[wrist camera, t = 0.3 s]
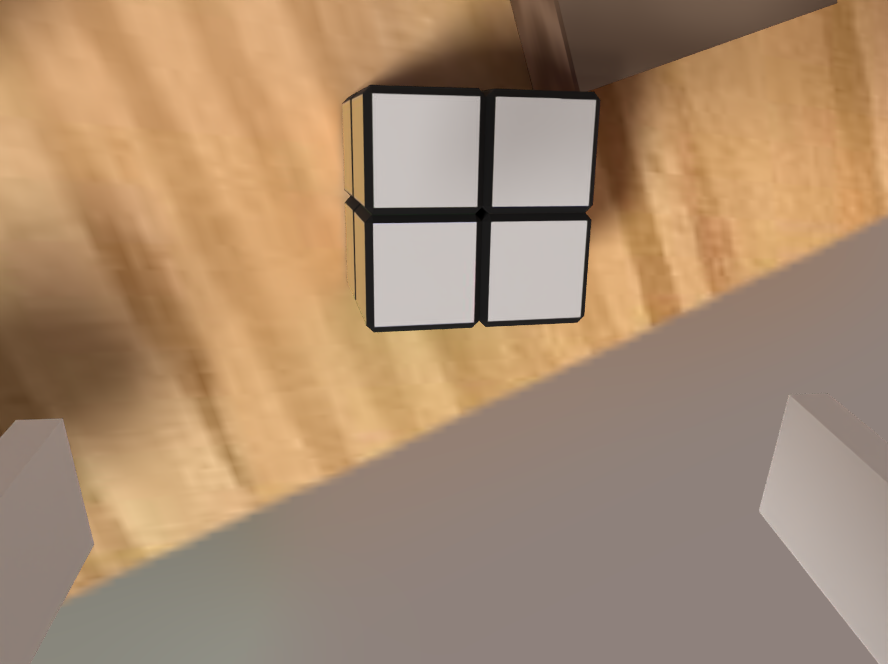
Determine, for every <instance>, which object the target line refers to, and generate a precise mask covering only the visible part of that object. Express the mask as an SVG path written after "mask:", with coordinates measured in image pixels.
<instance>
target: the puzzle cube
mask: <svg viewBox="0 0 888 664" xmlns="http://www.w3.org/2000/svg"><path fill="white" fill-rule="evenodd" d="M599 112H600V99H599V98H598V96H597V95H596V94H595V93H594V92H583V91H550V90H517V89H491V90H486V91H481V90H480V89H479V88H451V87H418V86H385V85H370V86H368V87H366V88H364V89H362V90H361V91H359V92H356V93H355V94H353V95H351V96H350V97H348V98H347V99H346V100H345V101H344V102H343V103H342V119H343V154H344V190H345V191H346V192H347V193H348V194H349V195H350V197H349V198H348V200H347V201H346V202H345V226H346V262H347V283H348V285H349V287H350V290H351V292H352V294H353V296H354V298H355V300H356V302H357V305H358V307H359V309H360V312H361V314H362V317H363V319H364V321H365V324H366V326H367V327H369V328H370V329H371V330H372V331H373V332H391V331H412V330H433V329H454V328H472V327H473V326H474V325H475V324H476V323H477V322H478V321H480V322H481V323H482V324H483V325H484V326H485V327H494V326H515V325H536V324H557V323H577V322H578V321H579V320H580V319H581V318H582V317H583V316H584V312H585V299H586V285H587V271H588V257H589V243H590V230H591V219H590V218H589V217H588V215H587V214H586V213H585V212H586V211H587V210H588V209H589V208H590V207H591V206H592V205H593V195H594V181H595V167H596V153H597V140H598V126H599Z"/></svg>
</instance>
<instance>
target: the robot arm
mask: <svg viewBox="0 0 888 664" xmlns="http://www.w3.org/2000/svg"><path fill="white" fill-rule="evenodd" d="M759 512H760V513H761V515H762V516H763V517H764V518H765V520H766V521H767V522H768V523H769V525H770V526H771V527H772V528H773V530H774V531H775V532H776V534H777V535H778V536H779V537H780V539H781V540H782V541H783V543H784V544H785V545H786V546H787V548H788V549H789V550H790V551H791V553H792V554H793V555H794V557H795V558H796V559H797V560H798V562H799V563H800V564H801V565H802V567H803V568H804V569H805V571H806V572H807V573H808V574H809V576H810V577H811V578H812V579H813V581H814V582H815V583H816V585H817V586H818V587H819V588H820V590H821V591H822V592H823V593H824V595H825V596H826V597H827V599H828V600H829V601H830V602H831V604H832V605H833V606H834V608H835V609H836V610H837V611H838V613H839V614H840V615H841V616H842V618H843V619H844V620H845V621H846V623H847V624H848V625H849V626H850V628H851V629H852V630H853V632H854V633H855V634H856V635H857V637H858V638H859V639H860V640H861V642H862V643H863V644H864V646H865V647H866V648H867V650H868V651H869V652H870V653H871V655H872V656H873V657H874V658H875V660H876V661H877V662H878V663H879V664H888V442H886V441H885V440H884V439H883V438H881V437H880V436H879V435H878V434H877V433H875V432H874V431H873V430H872V429H871V428H869V427H868V426H867V425H865V424H864V423H863V422H862V421H861V420H859V419H858V418H857V417H856V416H855V415H853V414H852V413H851V412H849V410H847V409H846V408H845V407H844V406H842V405H841V404H840V403H839V402H838V401H836V400H835V399H834V398H833V397H831V396H830V395H829V394H828V393H814V394H789V397H788V400H787V404H786V409H785V412H784V416H783V420H782V424H781V428H780V431H779V435H778V439H777V444H776V447H775V451H774V455H773V459H772V463H771V466H770V471H769V475H768V478H767V482H766V486H765V490H764V494H763V498H762V501H761V505H760V509H759ZM93 545H94V542H93V538H92V534H91V530H90V526H89V522H88V518H87V514H86V510H85V506H84V502H83V498H82V494H81V490H80V486H79V481H78V477H77V473H76V469H75V465H74V461H73V457H72V453H71V449H70V445H69V441H68V437H67V433H66V429H65V425H64V421H63V418H61V419H31V420H15V422H14V423H13V424H12V425H11V426H10V427H9V428H8V429H7V430H6V432H5V433H4V434H3V435H2V436H1V437H0V664H30V663H31V661H32V659H33V657H34V656H35V654H36V652H37V650H38V648H39V646H40V644H41V643H42V640H43V639H44V637H45V635H46V633H47V631H48V629H49V627H50V626H51V624H52V622H53V620H54V618H55V616H56V614H57V613H58V611H59V609H60V607H61V605H62V603H63V601H64V600H65V598H66V596H67V594H68V592H69V590H70V588H71V586H72V585H73V583H74V581H75V579H76V577H77V575H78V573H79V572H80V570H81V568H82V566H83V564H84V562H85V560H86V558H87V557H88V555H89V553H90V551H91V549H92V547H93Z"/></svg>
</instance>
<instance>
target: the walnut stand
mask: <svg viewBox="0 0 888 664" xmlns="http://www.w3.org/2000/svg"><path fill="white" fill-rule="evenodd" d="M510 2H511V6H512V9H513V13H514V17H515V21H516V25H517V29H518V32H519V36H520V40H521V44H522V48H523V52H524V56H525V59H526V63H527V67H528V71H529V75H530V79H531V83H532V86H533V90H550V91H583V92H587V91H590V90H593V89H596V88H599V87H602V86H604V85H607V84H610V83H613V82H616V81H618V80H621V79H624V78H627V77H630V76H633V75H635V74H638V73H641V72H644V71H647V70H649V69H652V68H655V67H658V66H661V65H664V64H666V63H669V62H672V61H675V60H678V59H681V58H683V57H686V56H689V55H692V54H695V53H697V52H700V51H703V50H706V49H709V48H712V47H714V46H717V45H720V44H723V43H726V42H729V41H731V40H734V39H737V38H740V37H743V36H745V35H748V34H751V33H754V32H757V31H760V30H762V29H765V28H768V27H771V26H774V25H777V24H779V23H782V22H785V21H788V20H791V19H793V18H796V17H799V16H802V15H805V14H808V13H810V12H813V11H816V10H819V9H822V8H824V7H827V6H830V5H833V4H836V3H837V0H510Z"/></svg>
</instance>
